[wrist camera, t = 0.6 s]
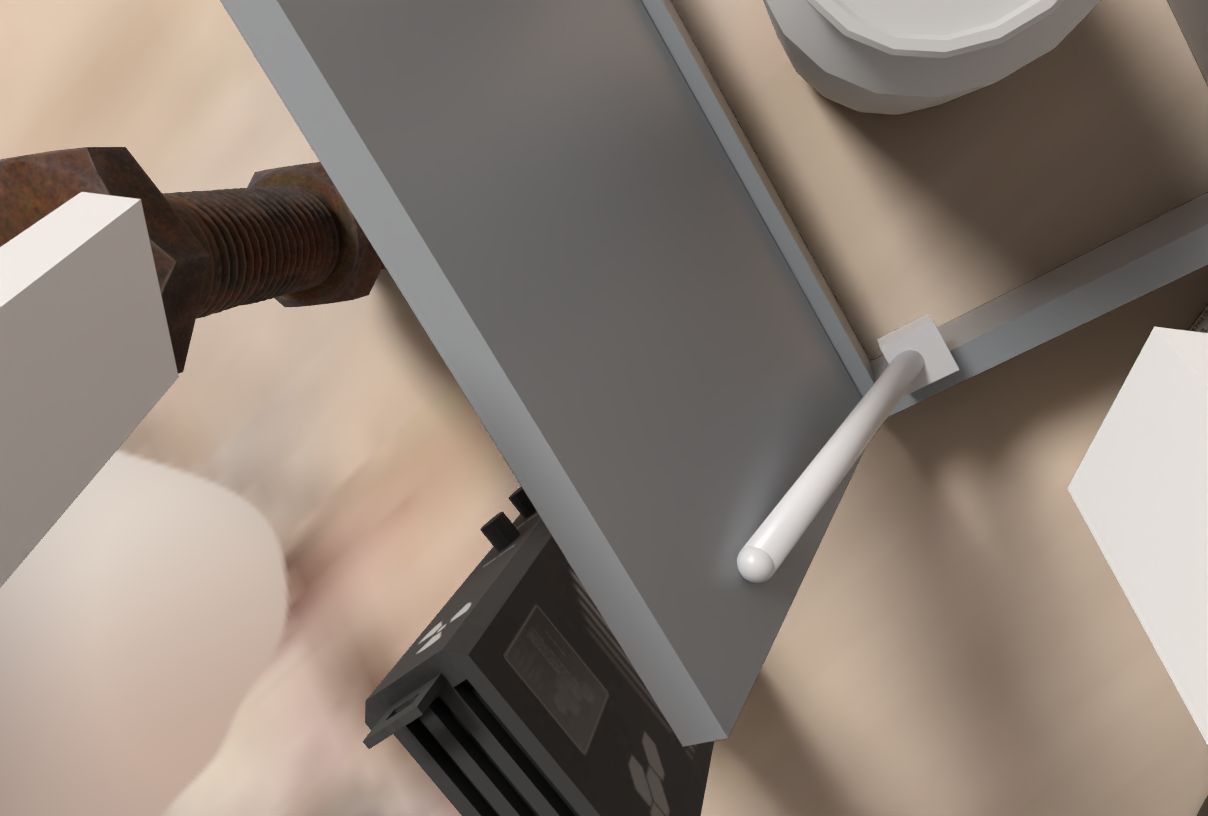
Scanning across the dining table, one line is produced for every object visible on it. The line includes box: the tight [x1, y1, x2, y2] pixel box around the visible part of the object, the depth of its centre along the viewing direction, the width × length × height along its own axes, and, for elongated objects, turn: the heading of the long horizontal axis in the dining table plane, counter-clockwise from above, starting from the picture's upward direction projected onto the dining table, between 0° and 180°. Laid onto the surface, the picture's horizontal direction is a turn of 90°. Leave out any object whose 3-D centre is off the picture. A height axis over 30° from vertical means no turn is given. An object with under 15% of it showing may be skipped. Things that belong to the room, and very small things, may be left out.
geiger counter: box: [363, 487, 714, 816], centre depth 27 cm, size 10×4×15 cm, turn 40°
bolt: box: [0, 147, 386, 373], centre depth 26 cm, size 6×5×15 cm
